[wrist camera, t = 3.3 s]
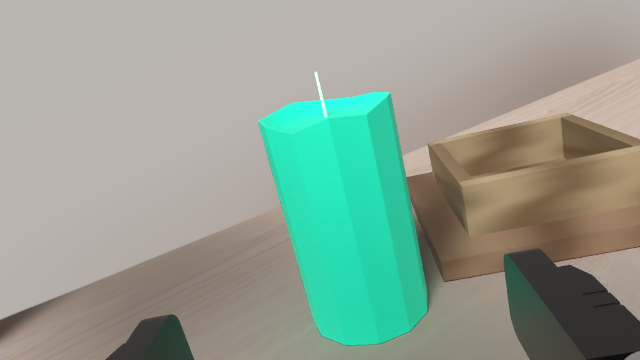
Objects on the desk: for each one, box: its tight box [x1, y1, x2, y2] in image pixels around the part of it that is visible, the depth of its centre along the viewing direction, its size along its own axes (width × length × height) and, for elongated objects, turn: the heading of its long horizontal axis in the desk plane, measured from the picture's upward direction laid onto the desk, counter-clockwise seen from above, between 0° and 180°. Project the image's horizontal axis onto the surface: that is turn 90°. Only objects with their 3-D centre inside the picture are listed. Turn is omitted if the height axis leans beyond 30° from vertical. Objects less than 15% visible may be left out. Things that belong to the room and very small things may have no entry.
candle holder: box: [406, 113, 640, 282], centre depth 29 cm, size 14×14×4 cm
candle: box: [258, 72, 428, 345], centre depth 21 cm, size 6×6×12 cm
